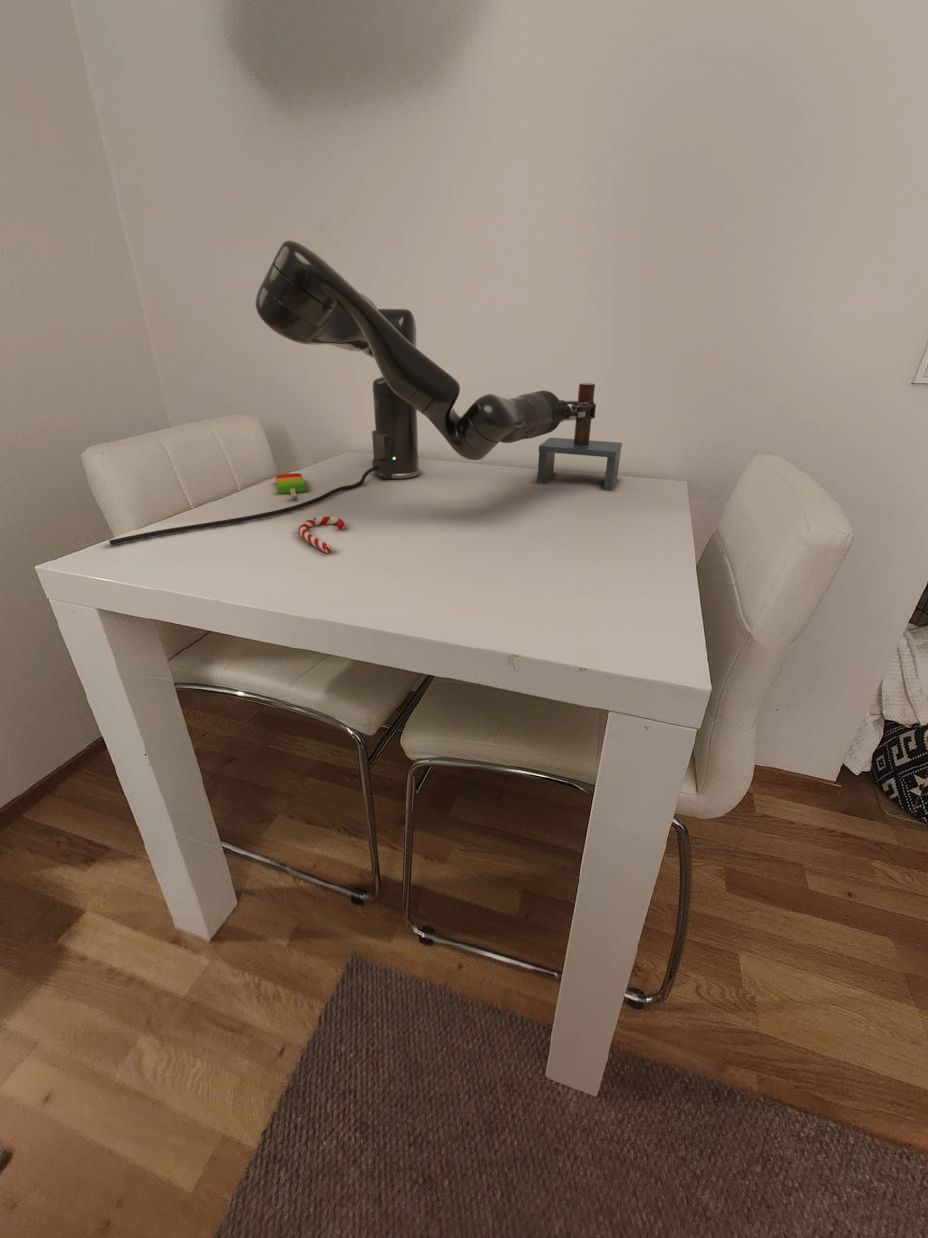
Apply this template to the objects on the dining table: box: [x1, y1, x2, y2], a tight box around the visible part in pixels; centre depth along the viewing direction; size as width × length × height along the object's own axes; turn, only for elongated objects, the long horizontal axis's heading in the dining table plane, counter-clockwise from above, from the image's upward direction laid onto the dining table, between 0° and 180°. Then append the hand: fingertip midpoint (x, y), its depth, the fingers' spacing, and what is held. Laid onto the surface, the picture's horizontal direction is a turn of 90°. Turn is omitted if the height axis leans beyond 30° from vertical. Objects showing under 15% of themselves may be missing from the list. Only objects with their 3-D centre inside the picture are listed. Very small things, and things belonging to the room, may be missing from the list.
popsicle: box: [275, 472, 307, 498], centre depth 117 cm, size 6×15×2 cm, turn 19°
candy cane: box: [298, 516, 346, 554], centre depth 93 cm, size 8×1×15 cm
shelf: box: [536, 437, 623, 491], centre depth 124 cm, size 10×16×8 cm, turn 69°
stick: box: [573, 382, 596, 446], centre depth 119 cm, size 3×3×12 cm
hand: (572, 404), depth 113 cm, fingers open, 8 cm apart
